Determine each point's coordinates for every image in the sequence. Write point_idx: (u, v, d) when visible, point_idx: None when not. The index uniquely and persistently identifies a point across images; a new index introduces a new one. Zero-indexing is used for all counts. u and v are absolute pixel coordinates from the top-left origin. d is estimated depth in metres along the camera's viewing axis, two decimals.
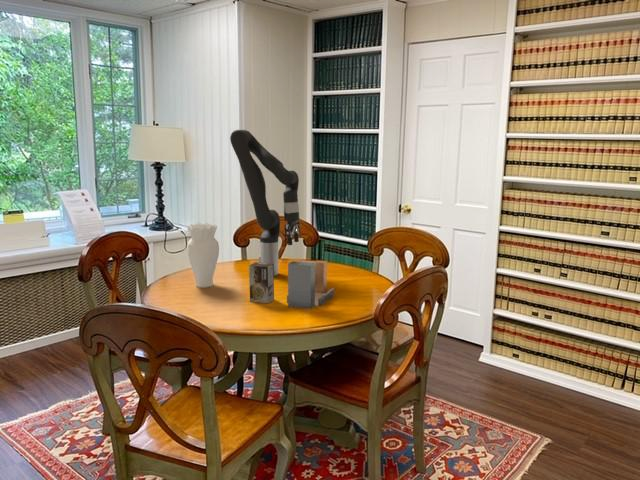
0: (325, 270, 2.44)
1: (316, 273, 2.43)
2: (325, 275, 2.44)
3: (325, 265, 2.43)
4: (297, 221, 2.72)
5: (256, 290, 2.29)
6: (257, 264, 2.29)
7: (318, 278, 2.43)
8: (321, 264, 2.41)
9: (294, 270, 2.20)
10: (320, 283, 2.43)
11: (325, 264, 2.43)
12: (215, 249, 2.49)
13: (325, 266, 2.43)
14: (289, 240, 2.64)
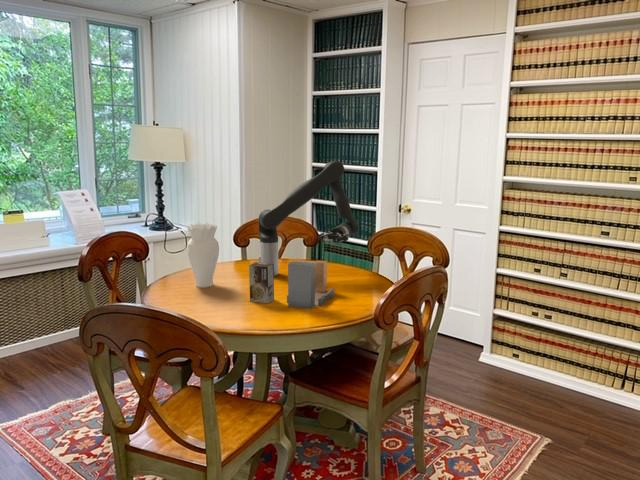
0: (325, 270, 2.44)
1: (316, 273, 2.43)
2: (325, 275, 2.44)
3: (325, 265, 2.43)
4: None
5: (256, 290, 2.29)
6: (257, 264, 2.29)
7: (317, 278, 2.43)
8: (321, 264, 2.41)
9: (294, 270, 2.20)
10: (320, 283, 2.43)
11: (325, 264, 2.43)
12: (215, 248, 2.49)
13: (325, 266, 2.43)
14: (340, 240, 2.53)
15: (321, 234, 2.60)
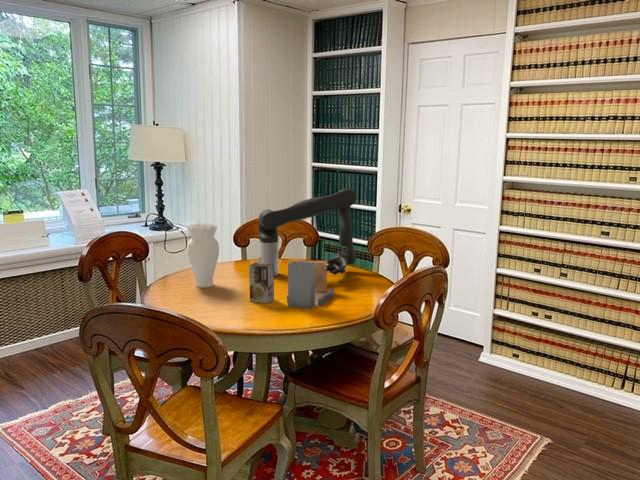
0: (325, 270, 2.44)
1: (316, 273, 2.43)
2: (325, 275, 2.44)
3: (325, 265, 2.43)
4: None
5: (256, 290, 2.29)
6: (257, 264, 2.29)
7: (318, 278, 2.43)
8: (321, 264, 2.41)
9: (294, 270, 2.20)
10: (320, 283, 2.43)
11: (325, 264, 2.43)
12: (215, 249, 2.49)
13: (325, 266, 2.43)
14: (337, 272, 2.52)
15: None
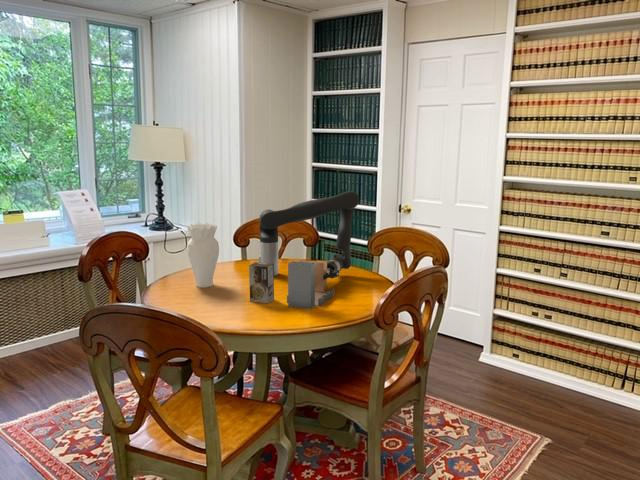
0: (325, 270, 2.44)
1: (316, 273, 2.43)
2: None
3: (325, 265, 2.43)
4: None
5: (256, 290, 2.29)
6: (257, 264, 2.29)
7: (318, 278, 2.43)
8: (321, 264, 2.41)
9: (294, 270, 2.20)
10: (320, 283, 2.43)
11: (325, 264, 2.43)
12: (215, 248, 2.49)
13: (325, 266, 2.43)
14: (327, 276, 2.44)
15: None
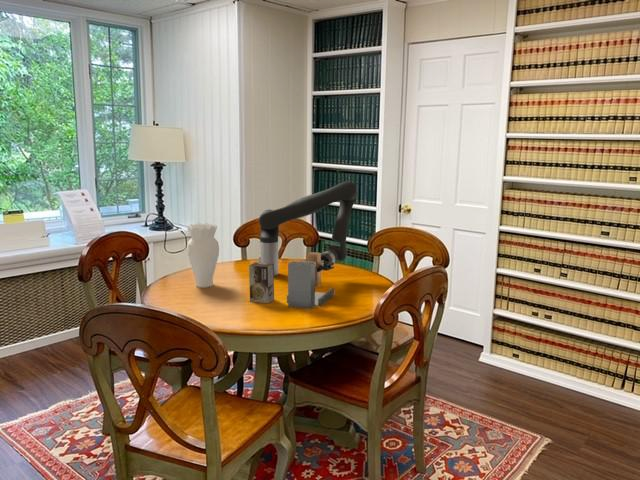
0: (319, 262, 2.35)
1: None
2: None
3: (319, 257, 2.34)
4: None
5: (256, 290, 2.29)
6: (257, 264, 2.29)
7: None
8: (315, 256, 2.32)
9: (294, 270, 2.20)
10: None
11: (319, 256, 2.34)
12: (215, 249, 2.49)
13: (319, 257, 2.34)
14: (321, 269, 2.34)
15: None
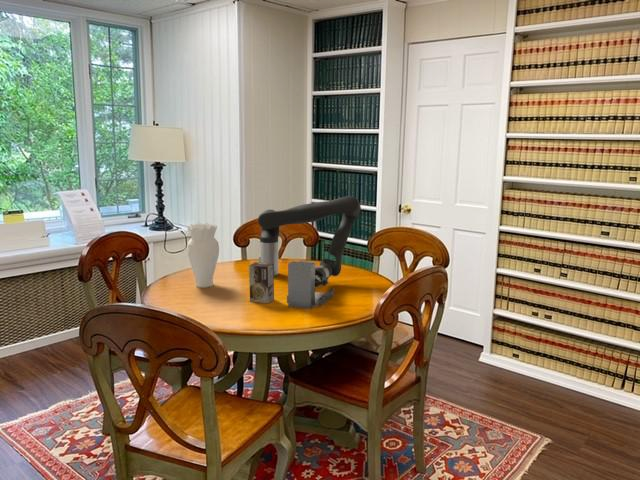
0: None
1: None
2: None
3: None
4: None
5: (256, 290, 2.29)
6: (257, 264, 2.29)
7: None
8: None
9: (294, 270, 2.20)
10: None
11: None
12: (215, 248, 2.49)
13: None
14: (319, 284, 2.28)
15: None
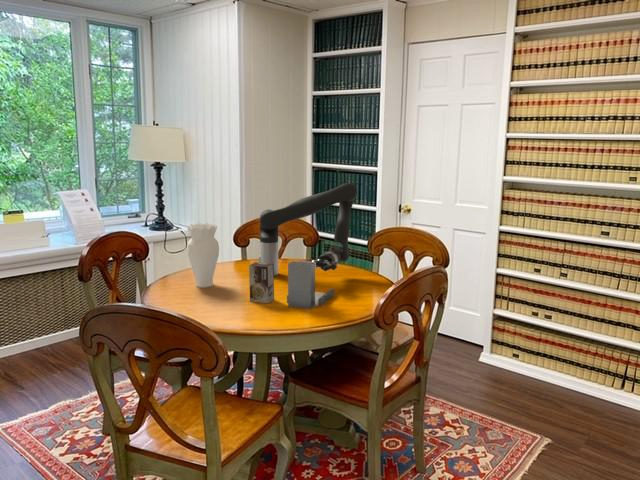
0: None
1: None
2: None
3: None
4: None
5: (256, 290, 2.29)
6: (257, 264, 2.29)
7: None
8: None
9: (294, 270, 2.20)
10: None
11: None
12: (215, 249, 2.49)
13: None
14: (328, 268, 2.40)
15: None
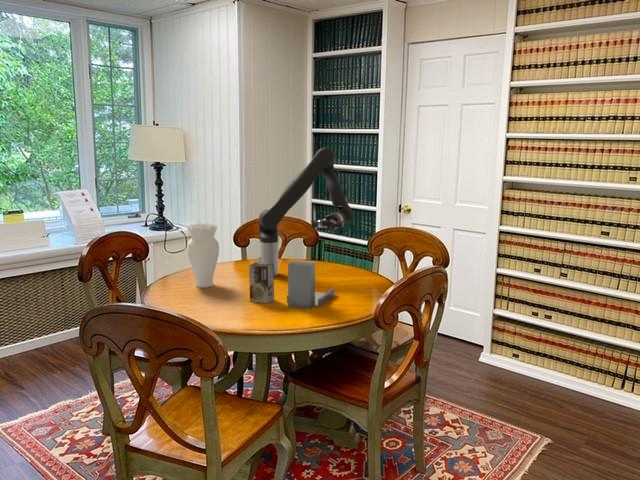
0: None
1: None
2: None
3: None
4: None
5: (256, 290, 2.29)
6: (257, 264, 2.29)
7: None
8: None
9: (294, 270, 2.20)
10: None
11: None
12: (215, 249, 2.49)
13: None
14: (335, 226, 2.43)
15: (315, 221, 2.50)
